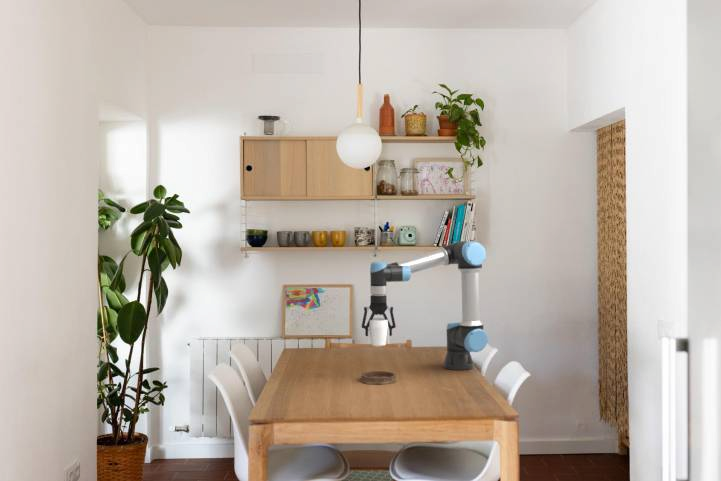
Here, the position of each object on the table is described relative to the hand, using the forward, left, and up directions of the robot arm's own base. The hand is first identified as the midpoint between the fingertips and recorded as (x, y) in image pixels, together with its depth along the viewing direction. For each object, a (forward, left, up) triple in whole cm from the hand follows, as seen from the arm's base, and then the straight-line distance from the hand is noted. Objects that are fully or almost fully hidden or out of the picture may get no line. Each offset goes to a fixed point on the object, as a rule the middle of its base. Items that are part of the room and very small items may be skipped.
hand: (378, 343), depth 313 cm
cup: (0, 0, -1) cm, 1 cm away
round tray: (0, 0, -18) cm, 18 cm away
